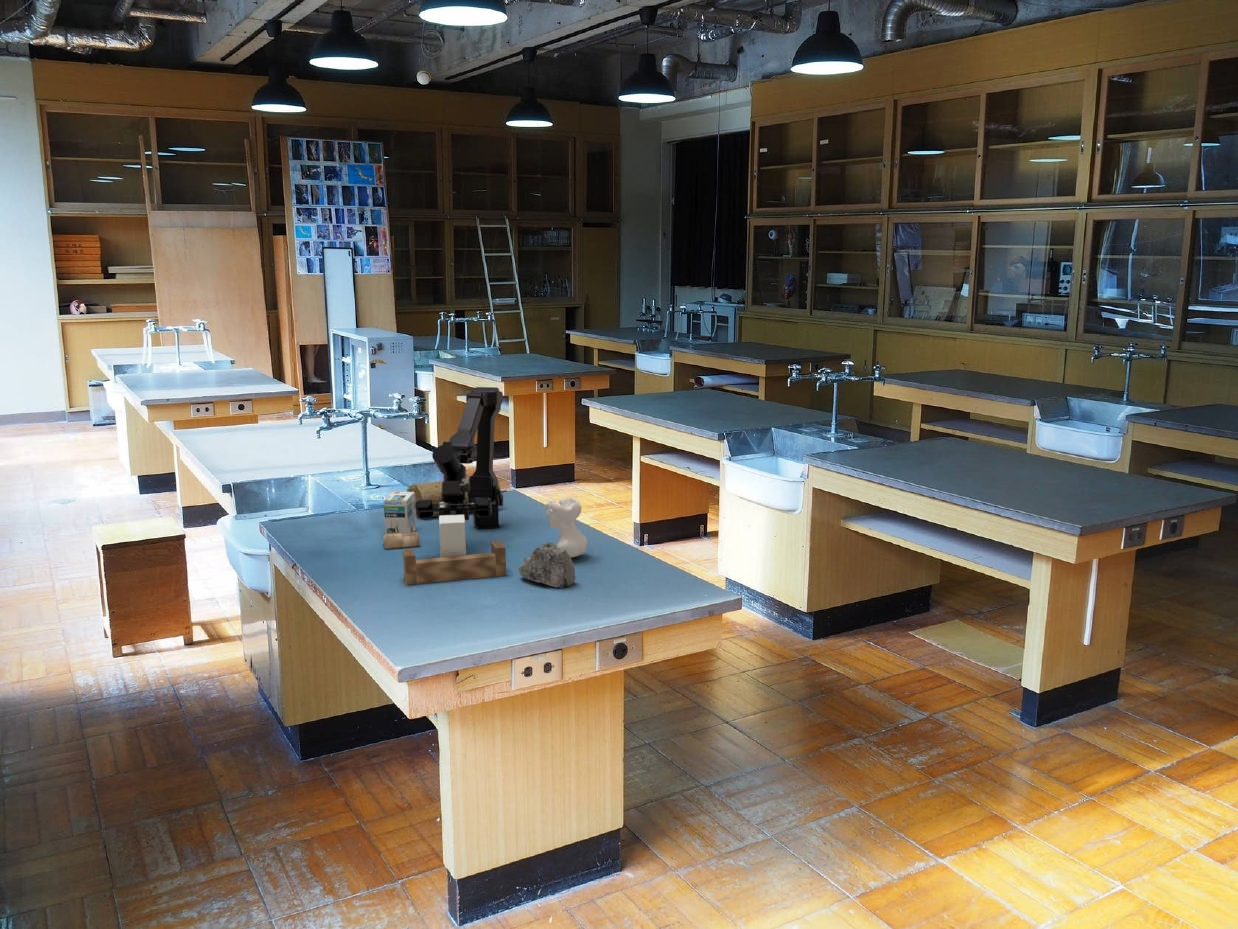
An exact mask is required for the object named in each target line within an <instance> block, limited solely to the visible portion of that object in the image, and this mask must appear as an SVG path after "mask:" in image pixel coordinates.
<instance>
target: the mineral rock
mask: <svg viewBox="0 0 1238 929" xmlns="http://www.w3.org/2000/svg"><path fill="white" fill-rule="evenodd" d="M556 545H557V543H554V542H550V541H549V542H547V543H544V544H543V545H541V546H540V547H536V548H534V550H533V551H532V553H531V555H530V556H527V557H525V558H524V559H523V563H522V564H521V565H520V567H518V573H519V575H520V576H521V577H522V578H525V579H526V580H529V581H533V582H535V583H540V584H544V585H547V586H550V587H553V588H560V589H563V588H565V587H568V586H572V585H573V584H574V583H575V581H576V569H575V567H574V563H573V562H574V561H573V559H572V558H571V557H570V556H569V554H568V553H567V551H566V550H565V549H563V548H558V547H557V546H556Z"/></svg>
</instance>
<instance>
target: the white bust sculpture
mask: <svg viewBox="0 0 1238 929" xmlns="http://www.w3.org/2000/svg"><path fill="white" fill-rule="evenodd" d="M545 508H546V512H545V514H546V517H547V519H548V521H547V522H548V525H549V527H550V528H553V529H557V530H558V532H559V535H560V537H559V539H558V541H557V543H556V546H557V547H558V548H563V549H565V550H566V551H567V553H568V554H569V556H570V557H571V559H572V558H575V557H579V556H581V555H583V554H584V553H585V552H586V548H587V544H588V538H587V537H586V536H585V535H584V534H583V533H582V532H581V531H580V529H579V528H578V527H577V525H576V523H575V522H576V520H577V519H578V518H579V517H580V515H581V512H582V504H581V502H580V501H579V500H577V498H574V497H563V498H561V499H559V500H558V503H557V500H556V499H550V500H549V502H547V503H546V504H545Z"/></svg>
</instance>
